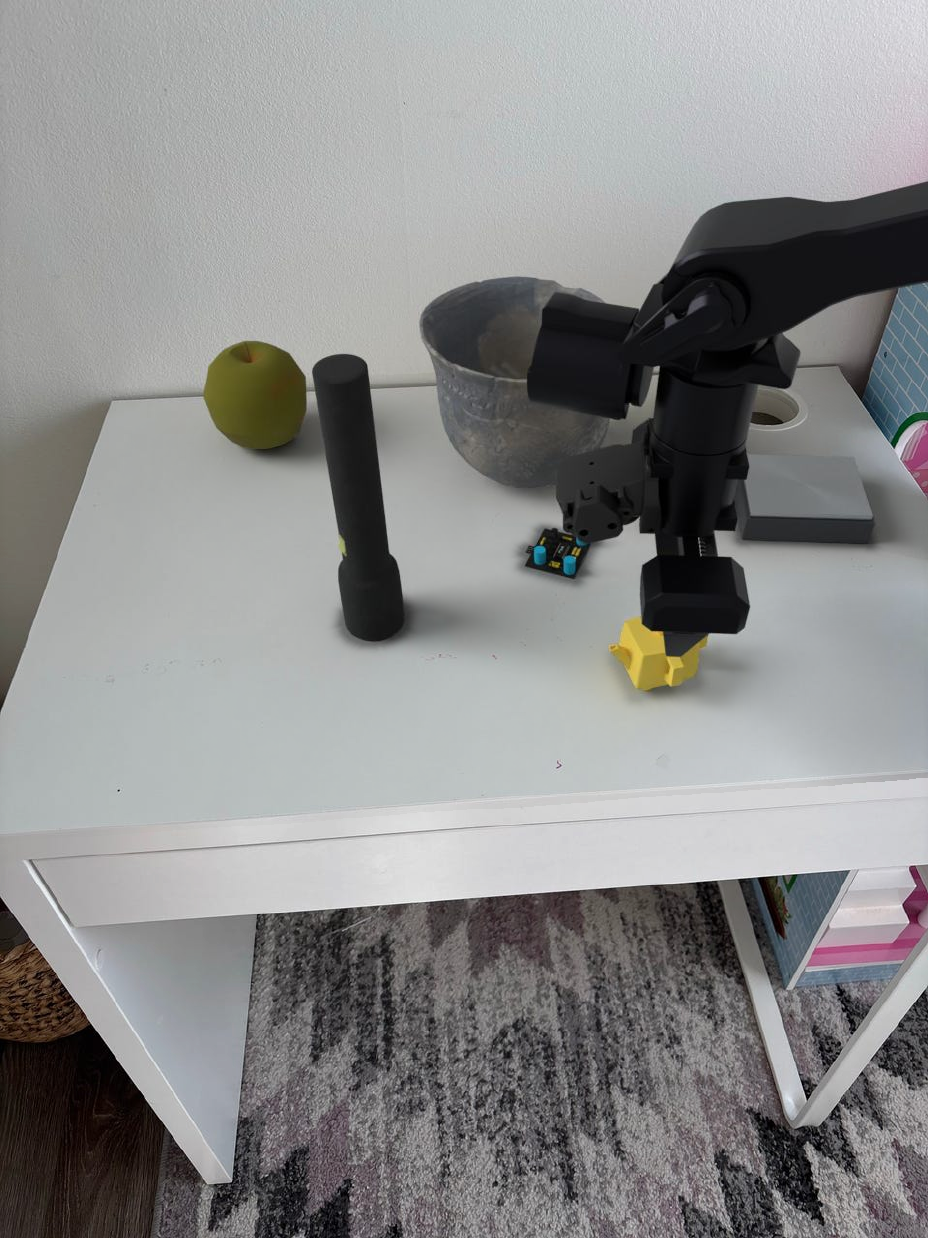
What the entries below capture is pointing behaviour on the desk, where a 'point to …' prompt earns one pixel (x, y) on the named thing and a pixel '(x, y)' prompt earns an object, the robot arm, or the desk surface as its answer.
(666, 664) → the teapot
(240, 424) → the apple
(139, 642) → the desk surface
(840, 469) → the scale
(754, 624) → the desk surface
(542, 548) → the circuit board
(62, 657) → the desk surface
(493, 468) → the bowl
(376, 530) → the flashlight
